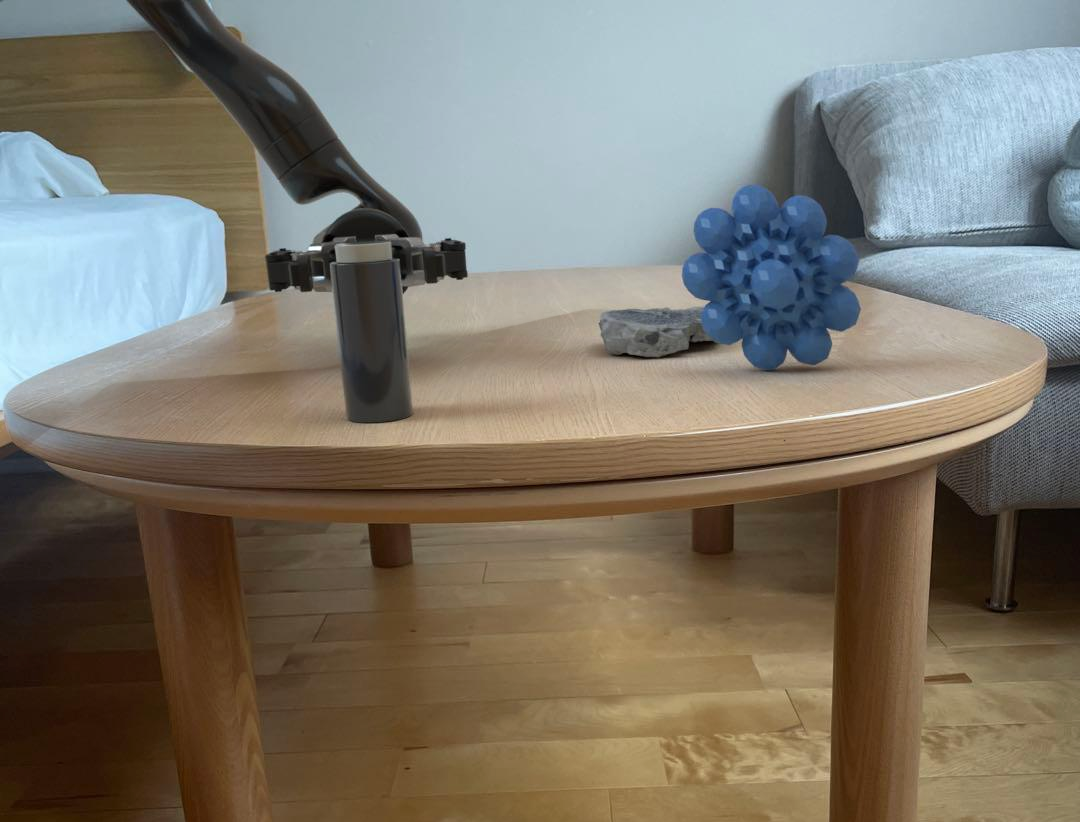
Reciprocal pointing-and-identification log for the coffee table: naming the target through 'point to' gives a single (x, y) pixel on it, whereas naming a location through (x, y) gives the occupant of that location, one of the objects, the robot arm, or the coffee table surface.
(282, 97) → the robot arm
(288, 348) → the coffee table surface
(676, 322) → the fossil
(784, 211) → the blue flower toy
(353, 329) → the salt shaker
